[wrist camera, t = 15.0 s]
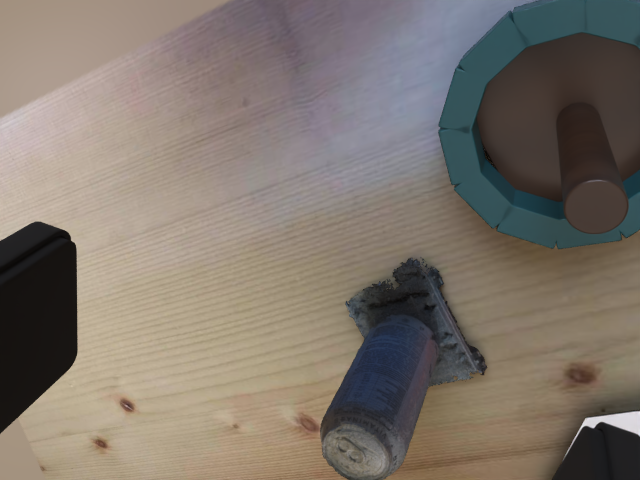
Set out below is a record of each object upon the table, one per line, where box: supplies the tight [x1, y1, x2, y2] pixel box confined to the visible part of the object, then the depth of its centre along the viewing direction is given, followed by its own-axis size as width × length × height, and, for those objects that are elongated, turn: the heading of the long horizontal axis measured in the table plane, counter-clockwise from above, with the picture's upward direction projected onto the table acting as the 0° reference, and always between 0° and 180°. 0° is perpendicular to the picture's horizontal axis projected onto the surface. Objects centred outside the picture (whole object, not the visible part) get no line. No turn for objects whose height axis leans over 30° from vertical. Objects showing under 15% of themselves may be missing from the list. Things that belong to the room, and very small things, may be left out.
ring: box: [438, 0, 640, 249], centre depth 29 cm, size 12×12×2 cm
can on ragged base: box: [320, 258, 487, 480], centre depth 34 cm, size 9×8×12 cm
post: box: [476, 32, 640, 234], centre depth 25 cm, size 9×9×12 cm
